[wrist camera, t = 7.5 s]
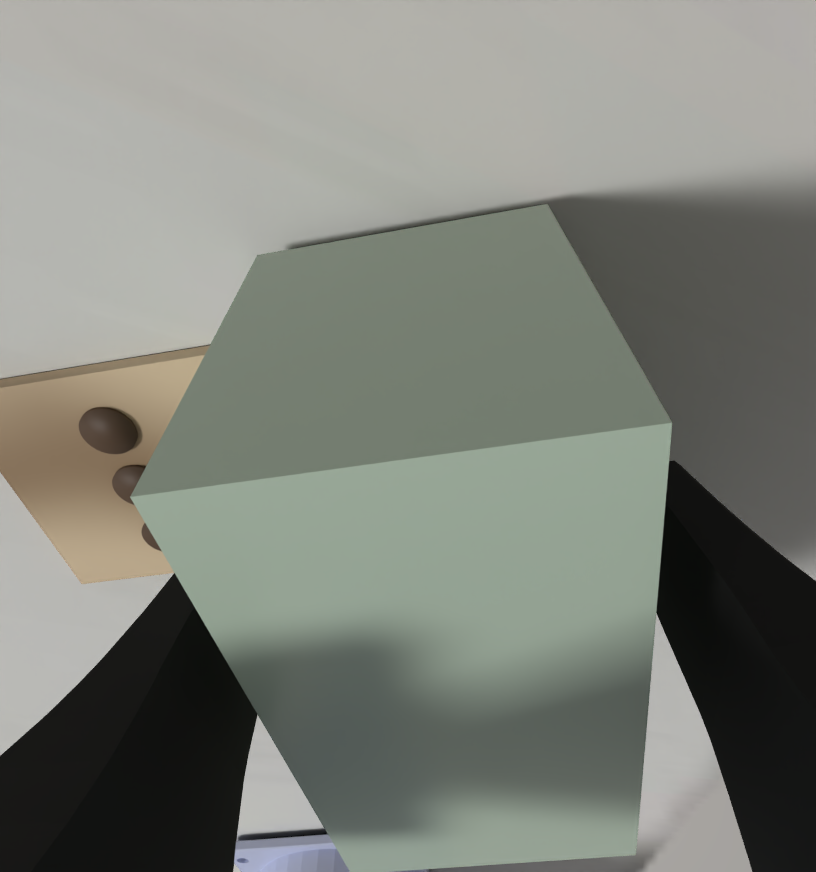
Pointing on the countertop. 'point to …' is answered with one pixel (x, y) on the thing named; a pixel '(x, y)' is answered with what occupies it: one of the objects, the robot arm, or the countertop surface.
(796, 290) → the countertop surface
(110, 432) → the pad three
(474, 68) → the countertop surface
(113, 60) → the countertop surface
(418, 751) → the pale green block
